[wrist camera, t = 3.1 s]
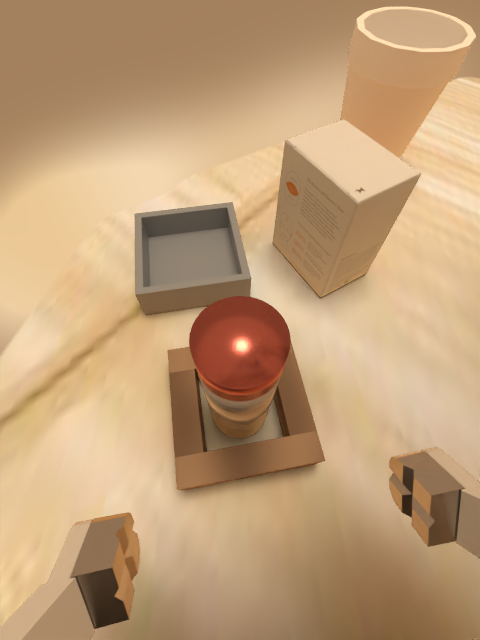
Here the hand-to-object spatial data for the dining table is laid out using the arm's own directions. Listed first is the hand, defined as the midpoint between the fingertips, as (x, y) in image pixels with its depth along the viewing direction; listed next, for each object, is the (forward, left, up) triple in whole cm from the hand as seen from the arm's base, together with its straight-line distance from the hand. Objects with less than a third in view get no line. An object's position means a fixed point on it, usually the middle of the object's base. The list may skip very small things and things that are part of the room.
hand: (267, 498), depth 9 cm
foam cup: (-19, -31, -12) cm, 38 cm away
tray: (+2, -20, -12) cm, 23 cm away
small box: (-10, -19, -12) cm, 24 cm away
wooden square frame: (0, -6, -12) cm, 13 cm away
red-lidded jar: (0, -6, -12) cm, 13 cm away
